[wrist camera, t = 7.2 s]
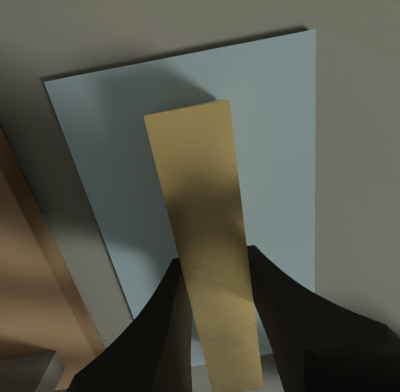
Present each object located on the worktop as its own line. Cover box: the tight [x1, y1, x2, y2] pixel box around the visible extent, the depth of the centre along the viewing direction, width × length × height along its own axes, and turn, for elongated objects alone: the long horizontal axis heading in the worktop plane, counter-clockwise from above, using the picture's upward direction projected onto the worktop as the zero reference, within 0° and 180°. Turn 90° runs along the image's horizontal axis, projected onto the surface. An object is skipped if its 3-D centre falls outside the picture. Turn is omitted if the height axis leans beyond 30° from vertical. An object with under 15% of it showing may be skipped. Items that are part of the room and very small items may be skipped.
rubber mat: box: [44, 29, 316, 367], centre depth 14 cm, size 20×12×1 cm, turn 10°
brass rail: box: [144, 99, 264, 392], centre depth 13 cm, size 16×3×3 cm, turn 10°
